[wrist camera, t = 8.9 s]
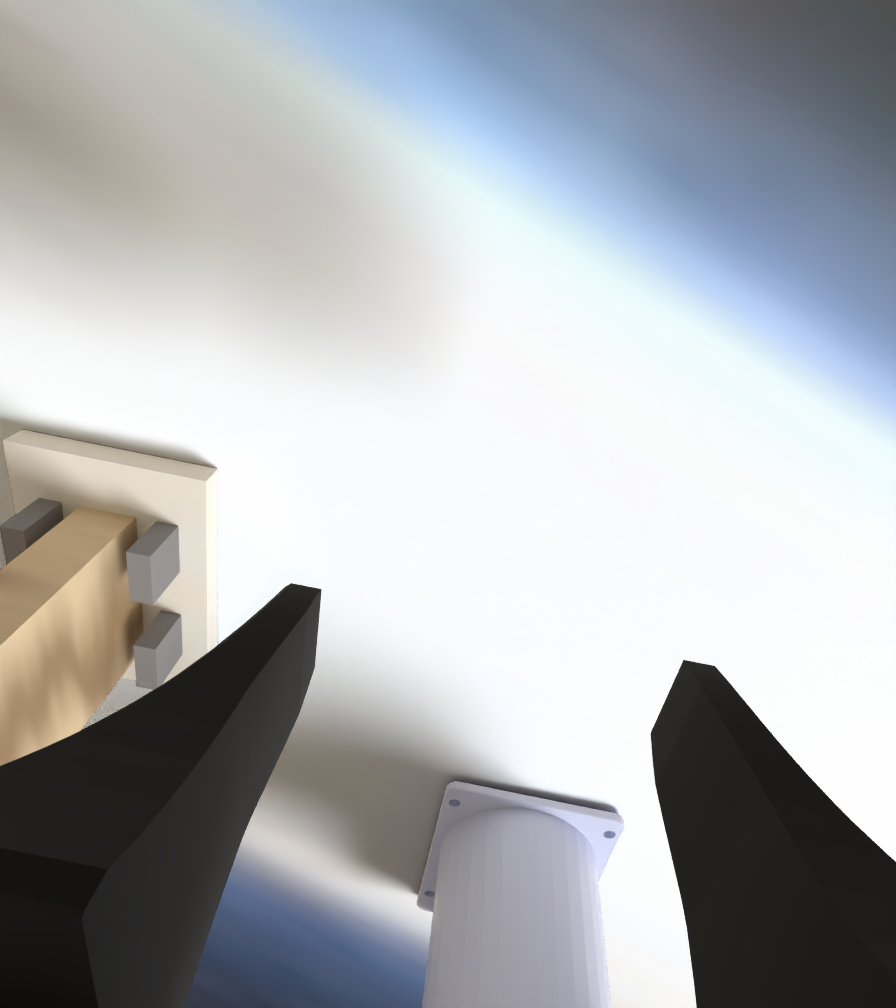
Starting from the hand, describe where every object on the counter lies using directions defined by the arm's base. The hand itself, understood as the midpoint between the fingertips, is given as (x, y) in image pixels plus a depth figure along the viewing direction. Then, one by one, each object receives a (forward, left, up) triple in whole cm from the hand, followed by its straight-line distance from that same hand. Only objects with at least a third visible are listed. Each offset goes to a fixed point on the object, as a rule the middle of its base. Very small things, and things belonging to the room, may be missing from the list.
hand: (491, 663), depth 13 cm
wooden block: (-8, +13, -9) cm, 18 cm away
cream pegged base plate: (-8, +13, -10) cm, 18 cm away
